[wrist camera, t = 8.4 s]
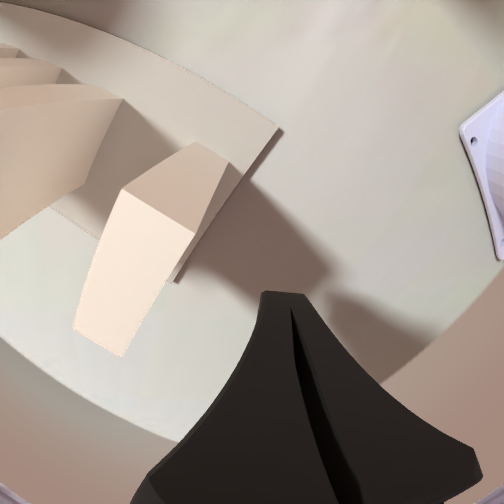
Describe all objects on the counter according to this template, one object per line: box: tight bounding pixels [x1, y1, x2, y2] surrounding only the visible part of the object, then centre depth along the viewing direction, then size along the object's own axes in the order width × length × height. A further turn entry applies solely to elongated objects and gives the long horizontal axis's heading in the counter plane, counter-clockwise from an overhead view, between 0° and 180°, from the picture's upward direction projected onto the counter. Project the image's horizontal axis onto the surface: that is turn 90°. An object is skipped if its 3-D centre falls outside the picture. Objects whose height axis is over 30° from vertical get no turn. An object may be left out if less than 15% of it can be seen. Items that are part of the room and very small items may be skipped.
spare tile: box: [72, 141, 229, 358], centre depth 9 cm, size 2×4×7 cm, turn 146°
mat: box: [0, 2, 279, 284], centre depth 10 cm, size 22×9×1 cm, turn 55°
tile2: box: [0, 84, 123, 240], centre depth 7 cm, size 2×4×7 cm, turn 145°
